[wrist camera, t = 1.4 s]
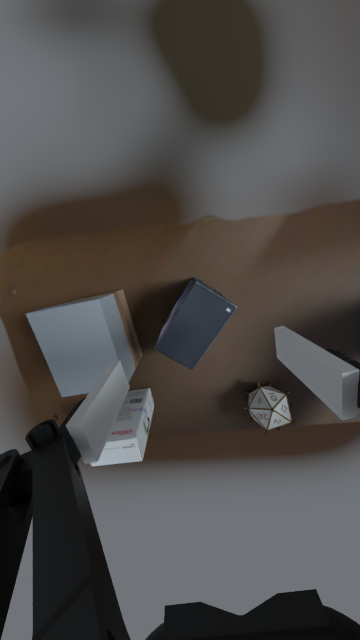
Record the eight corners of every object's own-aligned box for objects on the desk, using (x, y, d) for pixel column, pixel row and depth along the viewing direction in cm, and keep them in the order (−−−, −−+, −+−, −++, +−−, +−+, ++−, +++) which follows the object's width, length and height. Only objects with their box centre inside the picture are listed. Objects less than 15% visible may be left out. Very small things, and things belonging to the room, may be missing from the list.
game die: (250, 389, 42) (244, 437, 36) (242, 368, 37) (233, 419, 31) (297, 396, 37) (299, 453, 31) (295, 372, 32) (297, 434, 26)
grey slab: (113, 293, 28) (98, 299, 23) (135, 368, 32) (126, 386, 27) (52, 306, 29) (25, 313, 24) (80, 377, 32) (62, 397, 27)
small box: (191, 274, 32) (195, 278, 22) (223, 294, 32) (240, 307, 22) (161, 325, 34) (151, 349, 24) (191, 342, 35) (194, 372, 25)
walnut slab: (123, 288, 33) (113, 292, 28) (143, 354, 36) (137, 367, 31) (71, 300, 34) (52, 306, 29) (95, 363, 37) (82, 377, 32)
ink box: (116, 411, 40) (89, 469, 28) (110, 392, 38) (79, 444, 27) (155, 406, 39) (143, 463, 28) (150, 386, 38) (136, 437, 27)
